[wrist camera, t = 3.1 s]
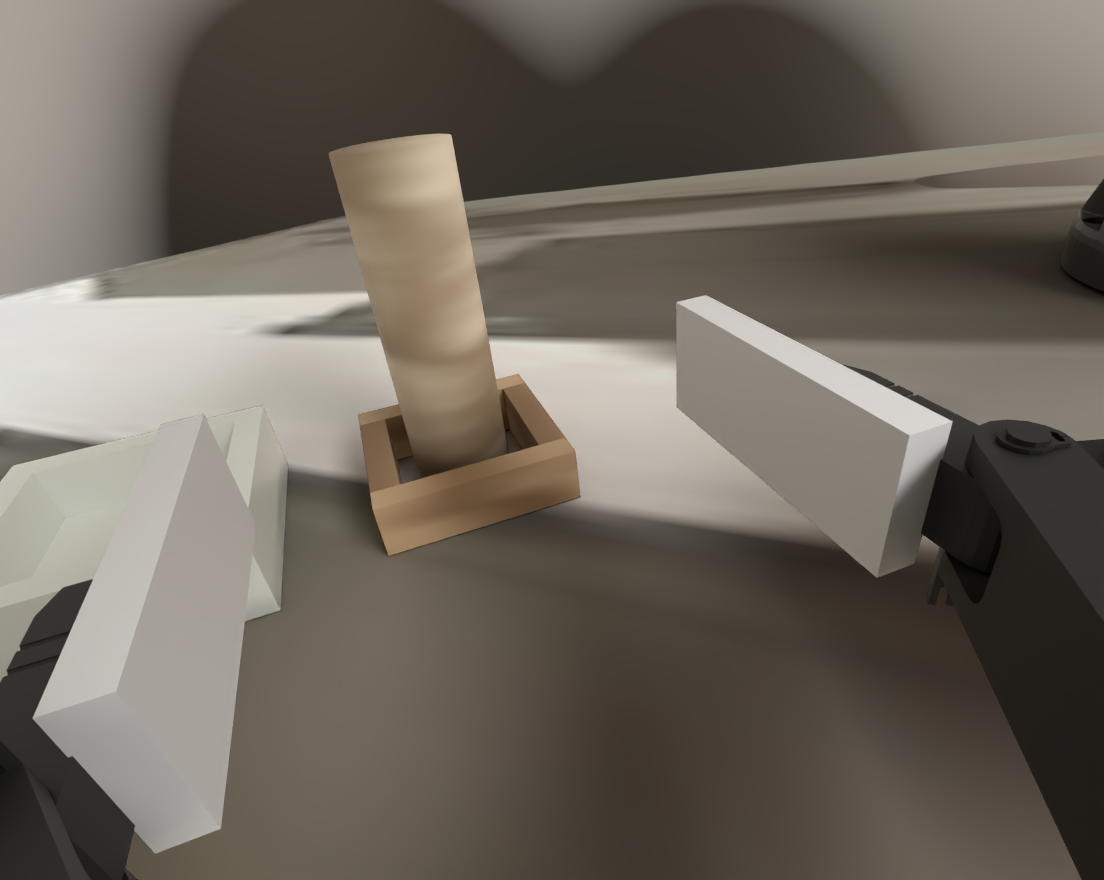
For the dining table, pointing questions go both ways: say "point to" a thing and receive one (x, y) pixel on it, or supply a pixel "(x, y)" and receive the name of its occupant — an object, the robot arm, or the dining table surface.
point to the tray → (97, 504)
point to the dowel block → (467, 475)
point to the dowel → (424, 295)
